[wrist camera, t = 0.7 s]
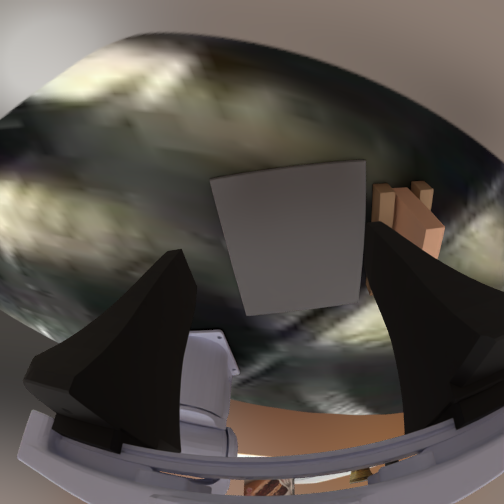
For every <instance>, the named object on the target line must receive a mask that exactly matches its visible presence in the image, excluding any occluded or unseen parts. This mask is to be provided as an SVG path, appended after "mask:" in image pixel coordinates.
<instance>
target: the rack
mask: <svg viewBox="0 0 504 504" xmlns="http://www.w3.org/2000/svg"><path fill="white" fill-rule="evenodd" d="M411 192H412V193H413V194H414V195H415V196H416V197H417V198H418V199H419V200H420V201H421V202H422V203H423V204H424V205H425V206H426V207H427V208H428V209H429V210H430V211H431V204H432V197H433V189H432V188H431V187H430V186H429V185H428V184H427V183H426V182H424V181H412V182H411ZM394 204H395V191H394V190H393V189H392V188H391V187H390V186H389V185H388V184H387V183H382V184H373V197H372V220H371V222H377V221H381V222H383V223H384V224H386V225H388V226H389V227H391V228H392V225H393V215H394ZM366 286H367V288H368V291H369V294H370V296H371V295H373V293H372V291H371V288H370V285H369V282H368V279H367V277H366Z"/></svg>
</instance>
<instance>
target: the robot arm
mask: <svg viewBox="0 0 504 504" xmlns="http://www.w3.org/2000/svg"><path fill="white" fill-rule="evenodd" d="M364 268H365V272H366V275H367V279H368V282H369V285H370V288H371V291H372V293H373V295H374V298H375V300H376V303H377V305H378V307H379V310H380V312H381V315H382V317H383V320H384V322H385V325H386V327H387V330H388V333H389V336H390V339H391V342H392V346H393V350H394V355H395V359H396V364H397V369H398V374H399V380H400V386H401V394H402V402H403V412H404V428H405V435H403V436H399V437H395V438H392V439H388V440H384V441H380V442H376V443H372V444H368V445H363V446H357V447H353V448H347V449H341V450H335V451H328V452H321V453H313V454H304V455H294V456H277V457H237V452H238V444H237V437H236V435H235V433H234V432H233V430H232V429H231V428H229V427H226V421H227V420H226V419H227V417H228V414H229V408H230V395H231V383H232V375H239V374H240V371H239V368H238V366H237V364H236V361H235V359H234V357H233V354H232V352H231V350H230V347H229V345H228V342H227V340H226V338H225V335H224V333H223V331H221V330H201V331H190V328H191V324H192V319H193V315H194V311H195V304H196V294H197V285H196V283H195V281H194V278H193V276H192V274H191V271H190V269H189V266H188V264H187V261H186V259H185V256H184V254H183V251H182V249H178V250H172V251H167V252H166V253H165V254H164V255H163V256H162V257H161V258H160V259H159V260H158V261H157V262H156V263H155V264H154V265H153V266H152V267H151V268H150V269H149V270H148V271H147V272H146V273H145V274H144V275H143V276H142V277H141V278H140V279H139V280H138V281H137V282H136V283H135V284H134V285H133V286H132V287H131V288H130V289H129V290H128V291H127V292H126V293H125V294H124V295H123V296H122V297H121V298H120V299H119V300H118V301H117V302H115V303H114V304H113V305H112V306H111V307H110V308H109V309H107V310H106V311H105V312H104V313H103V314H102V315H100V316H99V317H98V318H97V319H95V320H94V321H92V322H91V323H90V324H88V325H87V326H86V327H84V328H83V329H82V330H80V331H79V332H77V333H76V334H74V335H73V336H71V337H70V338H68V339H66V340H65V341H63V342H61V343H60V344H58V345H56V346H54V347H52V348H50V349H48V350H47V351H45V352H43V353H41V354H39V355H37V356H35V357H34V358H33V360H32V362H31V364H30V366H29V368H28V370H27V373H26V375H25V377H24V379H23V383H24V386H25V387H26V389H27V390H28V391H29V392H30V393H31V394H33V395H34V396H35V397H36V398H37V399H39V400H40V401H41V402H43V403H44V404H45V405H46V406H48V407H49V408H50V409H52V410H53V411H54V412H56V417H55V419H54V418H52V417H50V416H48V415H46V414H43V413H41V412H38V411H36V410H32V411H31V414H30V417H29V419H28V422H27V425H26V429H25V431H24V434H23V438H22V441H21V444H20V448H19V451H18V455H17V458H18V459H19V460H20V461H22V462H23V463H25V464H26V465H28V466H29V467H31V468H32V469H34V470H35V471H37V472H38V473H40V474H41V475H43V476H44V477H46V478H47V479H49V480H50V481H52V482H53V483H55V484H56V485H58V486H59V487H61V488H62V489H64V490H65V491H67V492H69V493H70V494H72V495H74V496H75V497H77V498H79V499H81V500H83V501H85V502H86V503H88V504H454V503H456V502H458V501H460V500H461V499H463V498H465V497H467V496H468V495H470V494H472V493H473V492H475V491H477V490H478V489H480V488H481V487H483V486H485V485H486V484H488V483H489V482H491V481H492V480H493V479H495V478H496V477H498V476H499V475H501V474H502V473H503V472H504V292H502V291H500V290H497V289H494V288H492V287H489V286H487V285H485V284H482V283H480V282H478V281H476V280H474V279H472V278H470V277H468V276H466V275H464V274H462V273H460V272H458V271H456V270H455V269H453V268H451V267H449V266H447V265H446V264H444V263H442V262H441V261H439V260H437V259H436V258H434V257H433V256H431V255H430V254H428V253H427V252H425V251H424V250H422V249H421V248H419V247H418V246H416V245H415V244H413V243H412V242H410V241H409V240H408V239H406V238H405V237H403V236H402V235H401V234H399V233H398V232H396V231H395V230H393V229H392V228H391V227H389V226H388V225H386V224H384V223H383V222H381V221H377V222H369V223H366V230H365V251H364ZM415 454H417V455H415ZM412 455H415V456H412ZM409 456H412V457H410V458H408V459H405V460H402V461H399V462H396V463H393V464H391V465H388V466H385V467H381V468H380V469H379V472H377V473H375V474H373V475H370V476H369V477H368V478H367V479H368V485H366V486H361V487H355V488H350V489H344V490H337V491H330V492H322V493H312V494H301V495H284V496H236V495H235V496H234V495H225V494H226V493H227V490H228V489H229V484H230V479H236V480H275V479H293V478H305V477H315V476H323V475H330V474H337V473H343V472H349V471H354V470H359V469H364V468H368V467H373V466H377V465H381V464H385V463H389V462H392V461H396V460H399V459H403V458H406V457H409ZM160 471H163V472H168V473H174V474H181V475H189V476H194V477H200V478H205V479H192V478H186V477H181V476H176V475H171V474H166V473H162V472H160Z"/></svg>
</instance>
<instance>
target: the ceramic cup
mask: <svg viewBox="0 0 504 504" xmlns="http://www.w3.org/2000/svg"><path fill="white" fill-rule="evenodd" d="M370 475H373V474H372V473H371V471H370V469H369V467H368V468H364V469H359V470H354V471H351V476H350V484H351V483H358V482H363V481H367V480H368V479H367V478H368V477H369V476H370Z"/></svg>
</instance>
